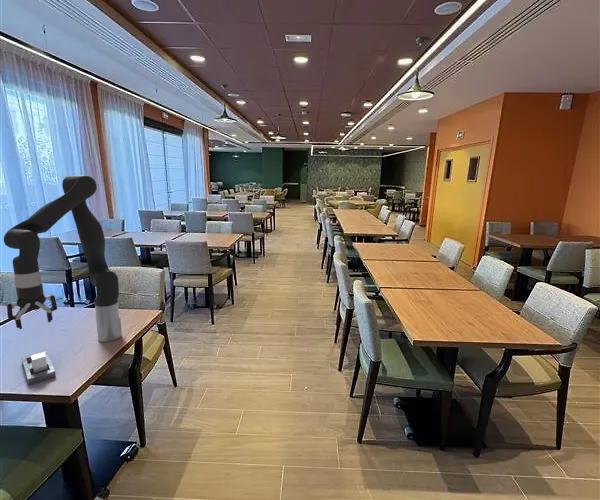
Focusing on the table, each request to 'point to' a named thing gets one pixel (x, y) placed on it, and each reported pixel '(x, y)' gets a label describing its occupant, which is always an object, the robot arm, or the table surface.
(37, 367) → the steel peg
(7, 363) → the table surface
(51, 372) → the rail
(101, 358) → the table surface
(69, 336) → the table surface
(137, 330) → the table surface
